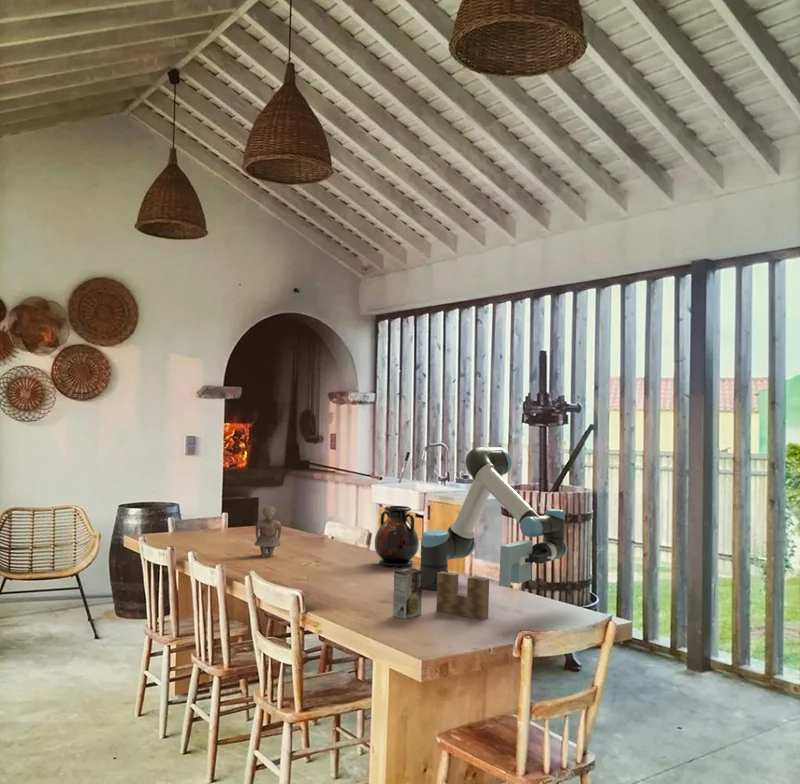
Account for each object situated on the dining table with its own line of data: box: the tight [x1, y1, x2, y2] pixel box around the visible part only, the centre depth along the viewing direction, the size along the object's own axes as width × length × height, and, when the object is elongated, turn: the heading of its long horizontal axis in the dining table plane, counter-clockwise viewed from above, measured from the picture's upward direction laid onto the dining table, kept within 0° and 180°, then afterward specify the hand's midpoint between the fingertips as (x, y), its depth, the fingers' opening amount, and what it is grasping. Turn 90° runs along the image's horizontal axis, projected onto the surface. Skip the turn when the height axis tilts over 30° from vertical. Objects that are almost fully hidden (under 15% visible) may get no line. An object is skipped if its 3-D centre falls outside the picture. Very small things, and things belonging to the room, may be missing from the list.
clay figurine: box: [254, 505, 282, 558], centre depth 396 cm, size 13×10×25 cm
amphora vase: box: [374, 505, 420, 569], centre depth 383 cm, size 22×22×28 cm
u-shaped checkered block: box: [436, 571, 490, 621], centre depth 290 cm, size 20×4×14 cm, turn 54°
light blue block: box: [498, 539, 534, 588], centre depth 285 cm, size 4×18×14 cm, turn 145°
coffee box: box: [392, 567, 423, 620], centre depth 286 cm, size 9×6×16 cm
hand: (514, 560), depth 284 cm, fingers closed on light blue block, 3 cm apart
